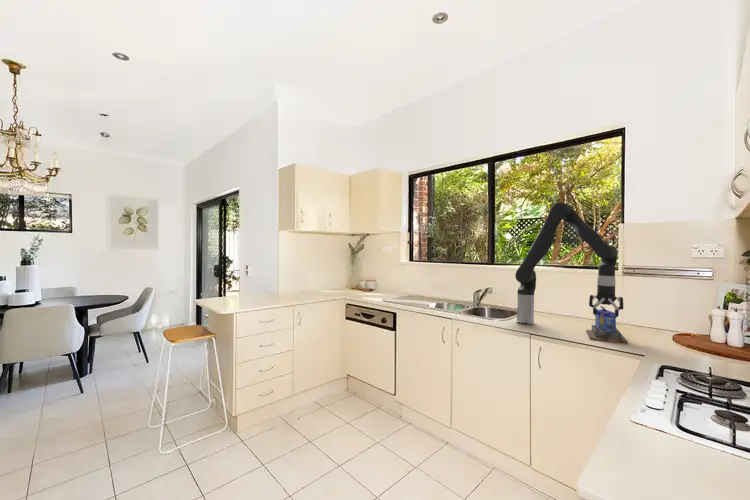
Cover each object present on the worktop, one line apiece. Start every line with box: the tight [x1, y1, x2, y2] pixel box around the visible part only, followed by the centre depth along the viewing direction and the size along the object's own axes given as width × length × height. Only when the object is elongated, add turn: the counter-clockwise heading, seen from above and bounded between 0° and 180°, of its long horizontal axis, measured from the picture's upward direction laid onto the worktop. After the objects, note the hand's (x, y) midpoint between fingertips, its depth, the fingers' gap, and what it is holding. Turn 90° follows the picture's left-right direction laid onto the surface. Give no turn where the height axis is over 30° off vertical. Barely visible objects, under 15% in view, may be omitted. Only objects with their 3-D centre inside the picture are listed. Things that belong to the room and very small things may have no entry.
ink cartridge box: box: [594, 305, 617, 333], centre depth 170 cm, size 10×6×14 cm, turn 171°
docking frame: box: [585, 324, 629, 345], centre depth 170 cm, size 15×18×4 cm
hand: (605, 316), depth 170 cm, fingers open, 8 cm apart
